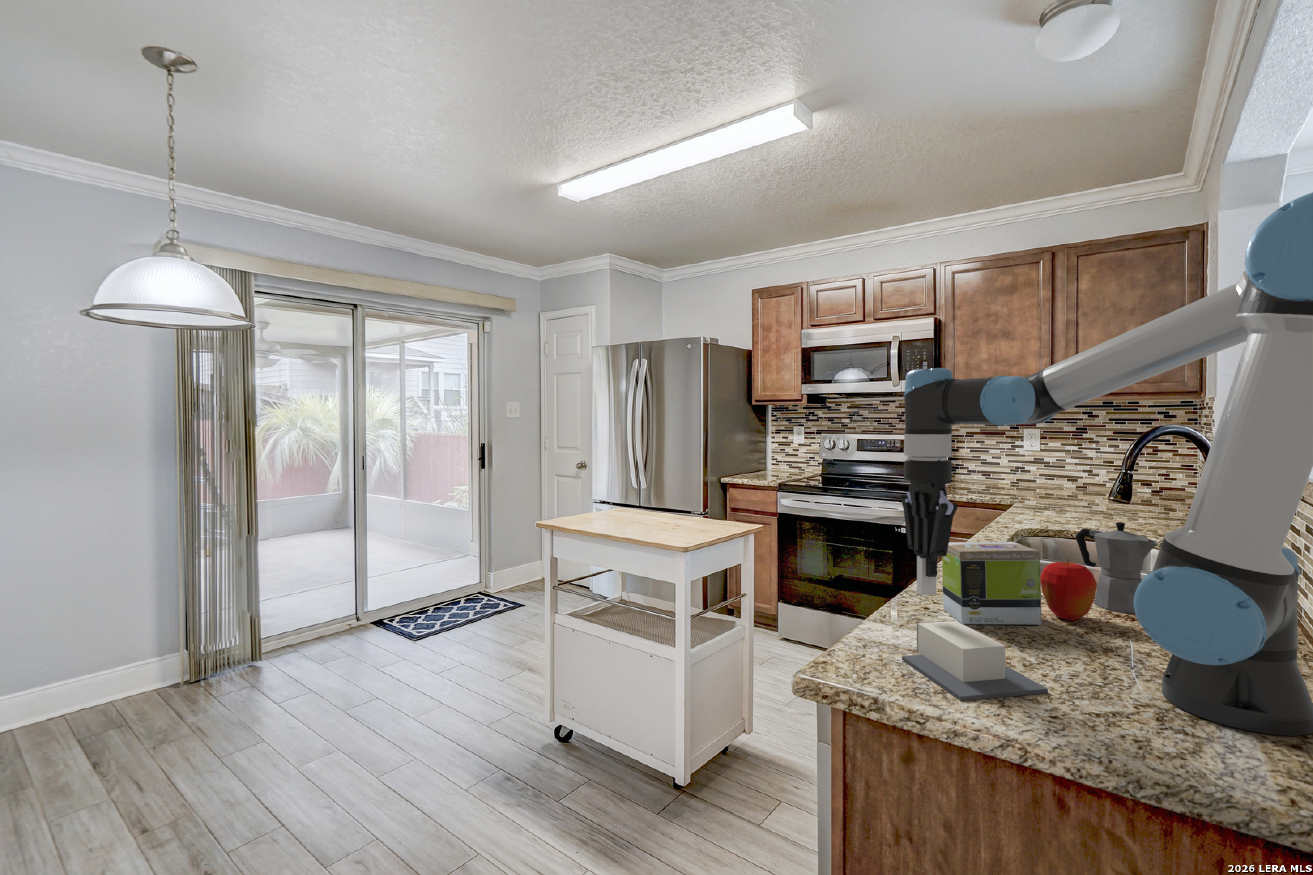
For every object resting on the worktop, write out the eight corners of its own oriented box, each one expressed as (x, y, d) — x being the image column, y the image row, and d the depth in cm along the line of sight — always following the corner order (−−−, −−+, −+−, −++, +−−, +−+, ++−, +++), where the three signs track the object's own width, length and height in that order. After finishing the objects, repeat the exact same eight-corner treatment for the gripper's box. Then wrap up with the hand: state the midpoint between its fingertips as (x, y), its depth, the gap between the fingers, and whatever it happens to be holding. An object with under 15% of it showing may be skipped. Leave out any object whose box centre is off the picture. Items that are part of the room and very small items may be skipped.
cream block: (954, 649, 102) (1005, 678, 90) (917, 651, 101) (963, 682, 89) (954, 620, 102) (1005, 645, 90) (916, 622, 101) (963, 649, 89)
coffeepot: (1169, 612, 122) (1170, 524, 121) (1144, 619, 118) (1144, 528, 117) (1088, 593, 136) (1088, 514, 135) (1063, 599, 132) (1063, 518, 131)
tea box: (1016, 610, 124) (1016, 540, 124) (1042, 627, 114) (1042, 550, 114) (941, 609, 126) (941, 539, 125) (960, 625, 116) (960, 550, 115)
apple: (1101, 617, 119) (1101, 558, 119) (1090, 628, 113) (1090, 565, 112) (1047, 607, 126) (1047, 551, 125) (1034, 617, 120) (1034, 558, 119)
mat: (1048, 692, 87) (1048, 688, 87) (960, 700, 85) (960, 696, 85) (977, 653, 101) (977, 650, 101) (901, 659, 99) (901, 656, 99)
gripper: (972, 460, 97) (971, 603, 98) (924, 455, 110) (923, 582, 111) (931, 461, 96) (929, 606, 97) (887, 456, 109) (886, 584, 109)
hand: (926, 593), depth 104 cm, fingers closed
